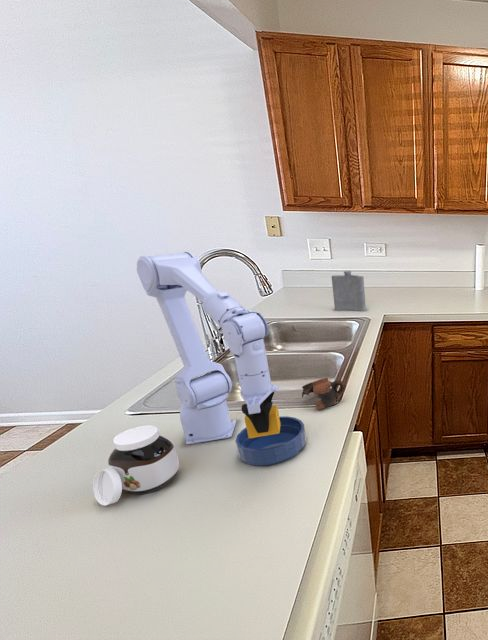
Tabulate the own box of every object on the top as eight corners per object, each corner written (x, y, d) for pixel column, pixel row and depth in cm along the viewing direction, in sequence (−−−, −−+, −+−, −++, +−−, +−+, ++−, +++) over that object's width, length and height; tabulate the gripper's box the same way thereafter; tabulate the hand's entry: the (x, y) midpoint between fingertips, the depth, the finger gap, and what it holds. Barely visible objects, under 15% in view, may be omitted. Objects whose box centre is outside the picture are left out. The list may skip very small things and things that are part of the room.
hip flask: (334, 310, 204) (329, 271, 197) (336, 308, 207) (332, 270, 200) (365, 311, 204) (362, 272, 197) (367, 308, 208) (364, 270, 201)
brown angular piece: (306, 415, 109) (295, 387, 109) (312, 413, 118) (302, 387, 118) (349, 398, 112) (339, 371, 112) (351, 397, 121) (342, 372, 121)
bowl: (234, 473, 85) (230, 456, 84) (244, 437, 97) (241, 422, 96) (306, 459, 90) (303, 443, 89) (306, 427, 103) (304, 412, 101)
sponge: (248, 438, 85) (244, 418, 83) (251, 429, 89) (247, 409, 87) (279, 433, 87) (275, 413, 86) (280, 424, 91) (277, 405, 89)
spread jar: (188, 470, 86) (175, 424, 82) (149, 509, 75) (132, 458, 71) (131, 470, 85) (115, 423, 81) (83, 509, 75) (62, 458, 70)
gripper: (271, 382, 78) (282, 440, 83) (277, 355, 90) (285, 407, 95) (230, 387, 75) (243, 447, 80) (241, 359, 88) (252, 412, 93)
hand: (264, 426), depth 87 cm, fingers closed on sponge, 4 cm apart
